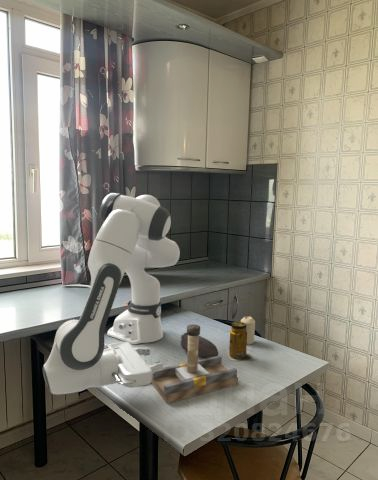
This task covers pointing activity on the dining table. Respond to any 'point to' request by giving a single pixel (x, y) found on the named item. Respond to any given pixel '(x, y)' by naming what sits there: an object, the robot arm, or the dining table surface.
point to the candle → (249, 329)
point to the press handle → (191, 356)
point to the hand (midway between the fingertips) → (155, 357)
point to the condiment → (238, 342)
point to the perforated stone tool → (201, 347)
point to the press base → (193, 380)
